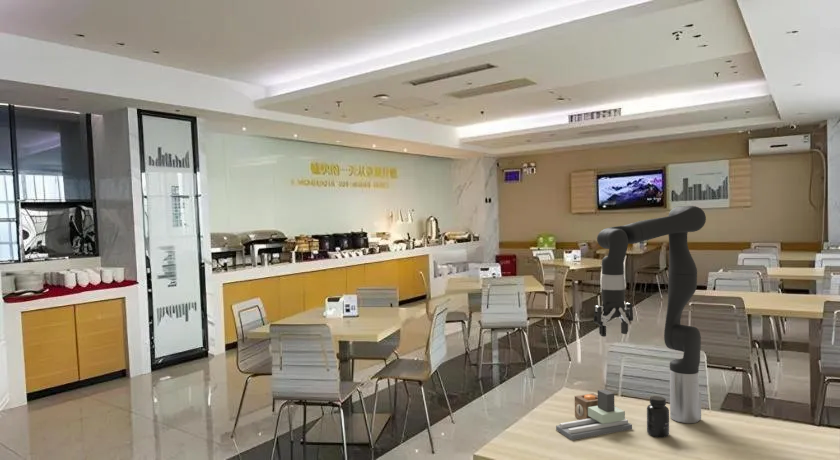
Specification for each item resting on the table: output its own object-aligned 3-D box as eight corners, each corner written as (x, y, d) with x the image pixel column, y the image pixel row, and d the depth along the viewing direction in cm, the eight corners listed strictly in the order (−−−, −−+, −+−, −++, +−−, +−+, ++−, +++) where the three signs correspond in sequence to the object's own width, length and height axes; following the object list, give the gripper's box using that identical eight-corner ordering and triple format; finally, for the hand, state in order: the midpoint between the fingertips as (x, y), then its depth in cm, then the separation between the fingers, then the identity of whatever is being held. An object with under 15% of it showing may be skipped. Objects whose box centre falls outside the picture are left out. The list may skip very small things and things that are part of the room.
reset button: (591, 404, 199) (591, 393, 199) (597, 408, 195) (597, 397, 195) (582, 406, 198) (582, 395, 198) (588, 409, 194) (588, 398, 194)
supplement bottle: (671, 438, 178) (671, 402, 177) (649, 437, 179) (648, 401, 179) (666, 430, 184) (666, 395, 184) (645, 429, 186) (644, 394, 185)
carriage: (609, 412, 193) (609, 386, 193) (624, 419, 186) (624, 393, 185) (587, 415, 190) (587, 390, 190) (602, 423, 183) (602, 397, 182)
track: (614, 419, 195) (614, 412, 195) (632, 429, 186) (632, 421, 186) (556, 429, 187) (556, 422, 187) (571, 440, 178) (571, 431, 178)
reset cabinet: (593, 413, 201) (593, 393, 201) (605, 420, 195) (605, 399, 194) (573, 416, 198) (573, 396, 198) (585, 423, 192) (585, 402, 192)
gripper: (623, 284, 191) (623, 331, 192) (588, 287, 187) (589, 334, 187) (638, 287, 184) (638, 335, 185) (602, 290, 180) (603, 339, 180)
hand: (613, 335), depth 186 cm, fingers open, 8 cm apart
